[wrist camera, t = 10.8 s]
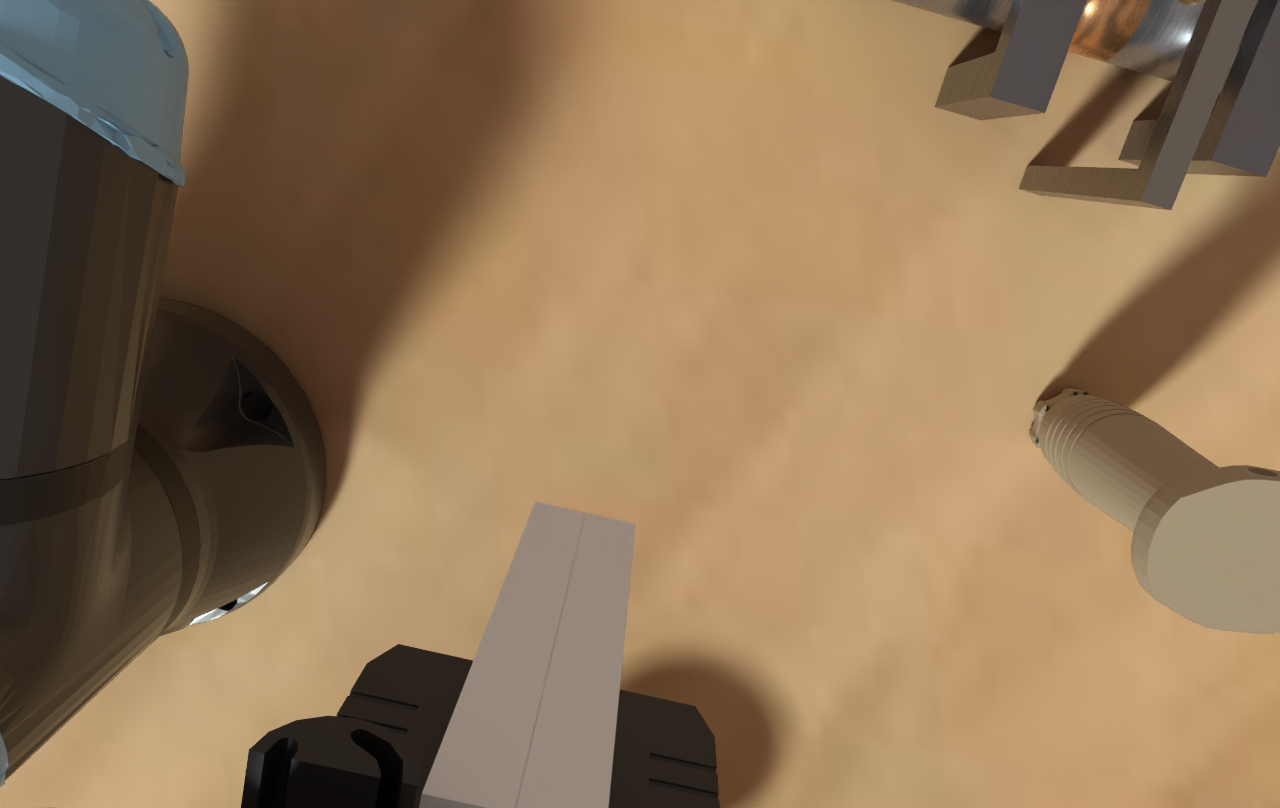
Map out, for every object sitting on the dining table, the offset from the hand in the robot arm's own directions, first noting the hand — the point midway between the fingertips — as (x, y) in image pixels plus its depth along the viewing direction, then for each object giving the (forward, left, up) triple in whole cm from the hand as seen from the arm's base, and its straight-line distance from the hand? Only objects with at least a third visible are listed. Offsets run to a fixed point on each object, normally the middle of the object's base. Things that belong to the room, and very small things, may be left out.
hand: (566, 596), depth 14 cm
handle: (+20, 0, -29) cm, 35 cm away
